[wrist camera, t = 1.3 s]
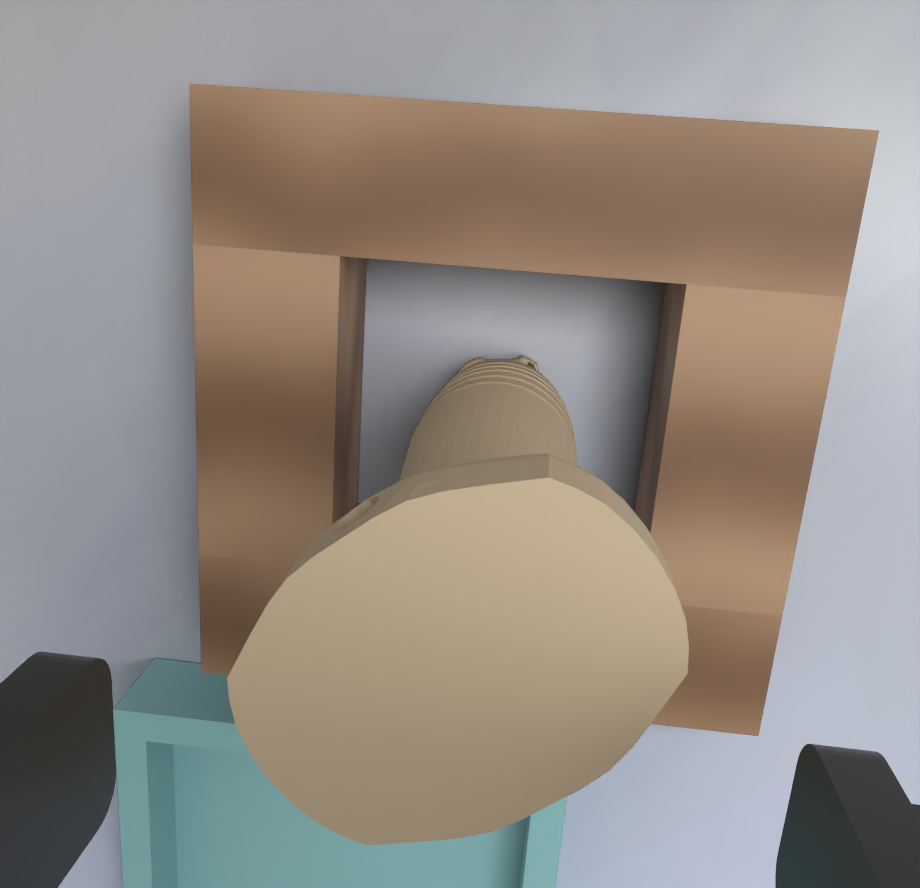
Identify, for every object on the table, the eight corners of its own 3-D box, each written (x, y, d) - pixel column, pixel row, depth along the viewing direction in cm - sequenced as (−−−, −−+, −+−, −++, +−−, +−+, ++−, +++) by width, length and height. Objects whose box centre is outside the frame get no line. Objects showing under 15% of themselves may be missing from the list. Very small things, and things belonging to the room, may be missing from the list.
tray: (154, 658, 30) (113, 709, 27) (568, 705, 29) (571, 763, 26) (166, 977, 34) (131, 1051, 31) (528, 1028, 33) (527, 1108, 30)
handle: (640, 409, 26) (754, 698, 12) (461, 521, 27) (369, 897, 13) (548, 272, 25) (550, 403, 11) (369, 396, 27) (162, 653, 12)
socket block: (238, 95, 24) (189, 83, 21) (831, 137, 23) (878, 130, 20) (240, 615, 29) (201, 671, 26) (733, 669, 28) (758, 735, 25)
